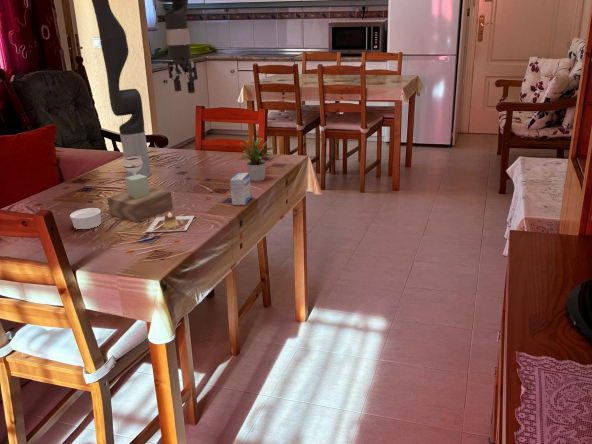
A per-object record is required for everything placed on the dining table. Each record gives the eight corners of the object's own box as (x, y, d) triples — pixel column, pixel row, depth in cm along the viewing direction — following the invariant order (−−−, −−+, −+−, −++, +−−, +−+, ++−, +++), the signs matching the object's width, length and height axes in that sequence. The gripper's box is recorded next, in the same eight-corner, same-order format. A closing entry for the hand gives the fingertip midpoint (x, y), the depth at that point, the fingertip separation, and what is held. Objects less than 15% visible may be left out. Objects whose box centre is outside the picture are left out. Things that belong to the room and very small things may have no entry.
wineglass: (150, 189, 207) (145, 156, 203) (134, 194, 203) (128, 161, 198) (140, 186, 212) (135, 154, 207) (124, 191, 207) (118, 158, 203)
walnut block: (110, 215, 184) (107, 198, 181) (145, 202, 194) (142, 186, 192) (138, 223, 175) (135, 204, 173) (173, 209, 186) (170, 192, 184)
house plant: (251, 188, 201) (247, 142, 195) (229, 181, 211) (224, 137, 205) (282, 179, 209) (279, 135, 203) (259, 172, 219) (256, 130, 213)
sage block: (127, 195, 182) (124, 177, 180) (142, 192, 185) (139, 174, 183) (135, 198, 179) (132, 180, 177) (149, 194, 182) (147, 176, 180)
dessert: (156, 220, 177) (154, 206, 176) (195, 218, 177) (193, 204, 175) (145, 235, 166) (143, 219, 164) (186, 233, 165) (184, 218, 164)
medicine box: (245, 205, 184) (242, 179, 181) (232, 205, 185) (229, 179, 182) (251, 197, 191) (249, 172, 188) (239, 197, 192) (236, 172, 189)
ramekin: (85, 233, 169) (82, 219, 168) (66, 228, 174) (63, 215, 172) (109, 223, 176) (106, 210, 175) (90, 219, 181) (87, 206, 179)
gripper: (158, 44, 196) (164, 92, 201) (180, 44, 186) (186, 95, 191) (177, 42, 200) (183, 89, 206) (200, 42, 190) (205, 92, 196)
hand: (184, 92), depth 199 cm, fingers open, 8 cm apart
